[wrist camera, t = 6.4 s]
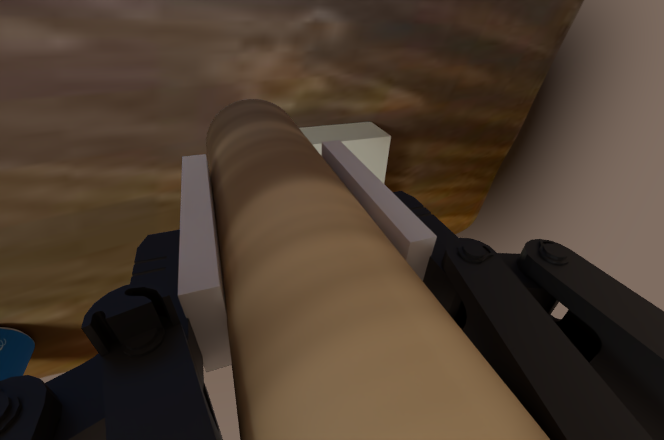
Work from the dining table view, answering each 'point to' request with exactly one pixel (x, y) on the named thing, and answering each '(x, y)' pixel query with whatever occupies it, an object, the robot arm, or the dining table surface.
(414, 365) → the oak peg
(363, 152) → the socket block
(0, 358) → the beverage can
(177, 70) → the dining table surface
